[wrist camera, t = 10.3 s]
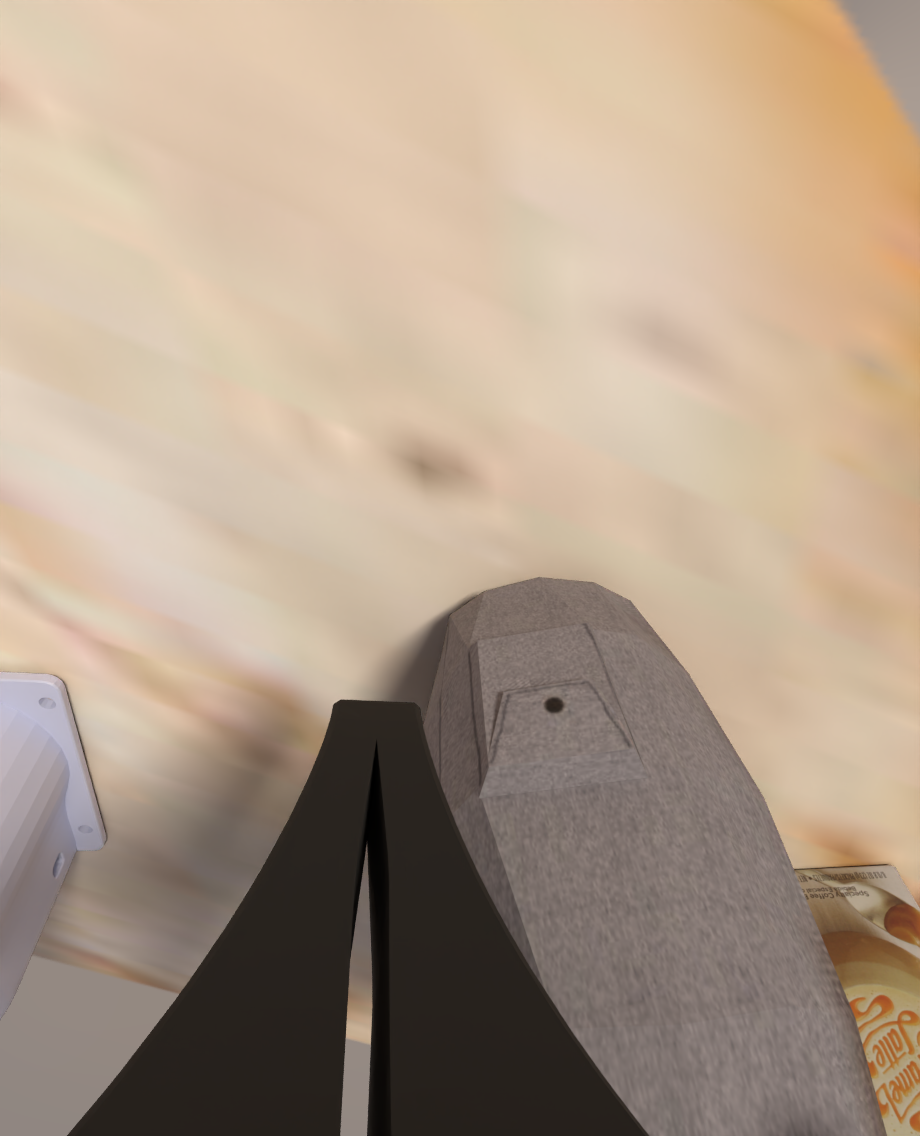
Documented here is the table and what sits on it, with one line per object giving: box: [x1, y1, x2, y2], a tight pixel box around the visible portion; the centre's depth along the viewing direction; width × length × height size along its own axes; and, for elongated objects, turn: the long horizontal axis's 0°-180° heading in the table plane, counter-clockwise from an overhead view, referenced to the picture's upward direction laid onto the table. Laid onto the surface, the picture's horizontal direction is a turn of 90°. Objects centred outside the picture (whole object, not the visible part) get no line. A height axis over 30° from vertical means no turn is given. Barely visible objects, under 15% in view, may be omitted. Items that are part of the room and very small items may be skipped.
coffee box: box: [794, 865, 920, 1136], centre depth 28 cm, size 9×6×16 cm
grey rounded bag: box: [423, 577, 887, 1136], centre depth 16 cm, size 15×8×20 cm, turn 3°
